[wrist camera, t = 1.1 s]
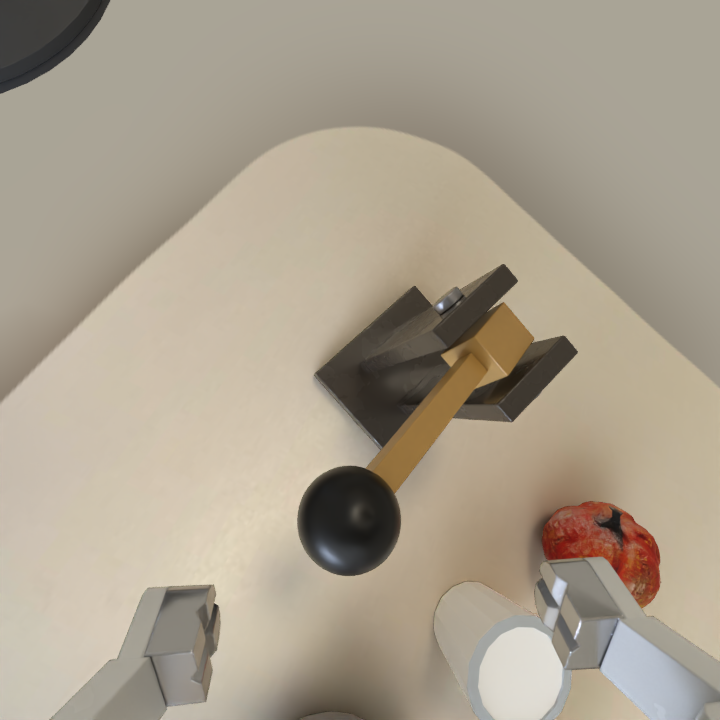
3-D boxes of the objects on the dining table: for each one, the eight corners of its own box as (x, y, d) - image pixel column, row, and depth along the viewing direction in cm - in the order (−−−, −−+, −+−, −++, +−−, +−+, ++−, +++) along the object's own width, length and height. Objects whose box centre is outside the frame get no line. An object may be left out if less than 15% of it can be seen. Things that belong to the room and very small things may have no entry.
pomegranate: (597, 555, 38) (647, 470, 33) (648, 647, 32) (720, 560, 27) (513, 553, 37) (551, 467, 32) (548, 647, 31) (603, 558, 26)
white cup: (528, 609, 34) (593, 661, 27) (475, 690, 33) (530, 766, 26) (463, 553, 33) (513, 591, 27) (406, 632, 32) (444, 694, 25)
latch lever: (330, 593, 15) (377, 608, 12) (263, 521, 15) (295, 520, 12) (498, 368, 22) (553, 344, 20) (454, 317, 22) (503, 285, 19)
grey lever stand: (385, 455, 33) (490, 500, 18) (313, 375, 32) (356, 347, 17) (475, 366, 35) (639, 336, 20) (409, 289, 35) (524, 196, 19)
